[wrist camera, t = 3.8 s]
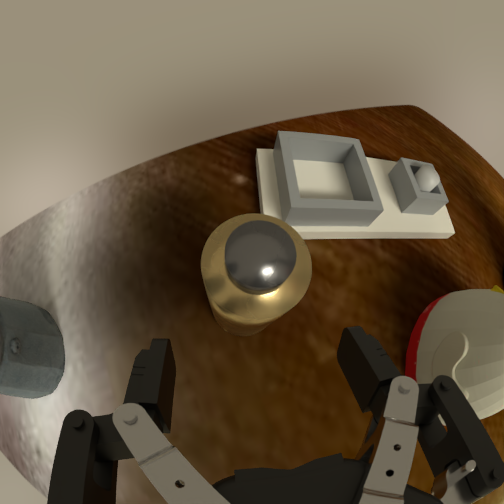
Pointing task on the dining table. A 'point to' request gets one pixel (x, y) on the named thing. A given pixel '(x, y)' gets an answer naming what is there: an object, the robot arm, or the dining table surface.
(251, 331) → the gold bottle
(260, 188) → the white tray
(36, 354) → the moka pot
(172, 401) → the robot arm
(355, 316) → the dining table surface
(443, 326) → the kitchen timer
